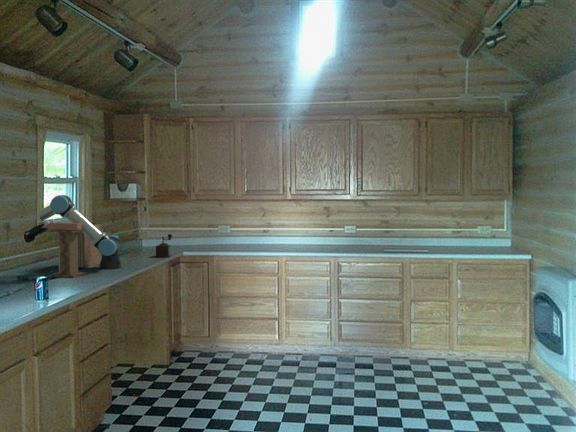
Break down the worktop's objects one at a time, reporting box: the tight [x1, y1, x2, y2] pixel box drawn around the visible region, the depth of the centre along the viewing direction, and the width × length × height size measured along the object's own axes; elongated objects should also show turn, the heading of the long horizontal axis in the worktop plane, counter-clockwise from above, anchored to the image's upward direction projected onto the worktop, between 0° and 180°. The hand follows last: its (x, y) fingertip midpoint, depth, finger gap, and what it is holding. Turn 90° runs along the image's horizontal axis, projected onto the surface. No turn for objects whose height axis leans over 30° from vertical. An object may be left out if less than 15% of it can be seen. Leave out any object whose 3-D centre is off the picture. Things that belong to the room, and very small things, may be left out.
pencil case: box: [38, 221, 82, 230], centre depth 379 cm, size 30×4×4 cm, turn 72°
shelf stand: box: [50, 229, 87, 279], centre depth 378 cm, size 17×13×30 cm
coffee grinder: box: [155, 233, 173, 258], centre depth 477 cm, size 16×11×18 cm
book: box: [78, 223, 104, 269], centre depth 422 cm, size 25×9×30 cm, turn 167°
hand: (51, 221), depth 381 cm, fingers closed on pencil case, 4 cm apart
